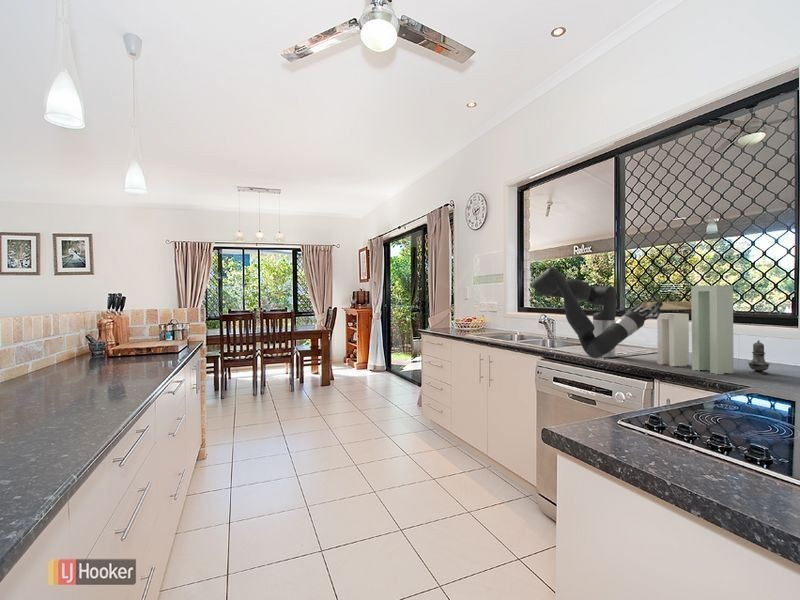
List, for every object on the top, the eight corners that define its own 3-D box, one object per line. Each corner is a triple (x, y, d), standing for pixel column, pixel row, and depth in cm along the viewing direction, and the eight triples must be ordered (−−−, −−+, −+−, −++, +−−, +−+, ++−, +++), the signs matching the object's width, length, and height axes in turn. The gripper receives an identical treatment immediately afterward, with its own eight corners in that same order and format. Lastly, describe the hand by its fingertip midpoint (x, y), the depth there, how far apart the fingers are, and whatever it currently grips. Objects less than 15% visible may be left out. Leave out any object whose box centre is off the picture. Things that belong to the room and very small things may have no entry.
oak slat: (642, 309, 153) (642, 302, 153) (693, 308, 161) (693, 301, 161) (650, 310, 150) (650, 302, 150) (702, 308, 157) (702, 301, 157)
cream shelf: (657, 364, 158) (657, 313, 157) (672, 362, 160) (671, 313, 160) (674, 366, 151) (673, 314, 151) (689, 365, 153) (688, 313, 153)
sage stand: (692, 370, 144) (691, 286, 144) (707, 368, 146) (706, 286, 146) (717, 374, 136) (716, 285, 135) (733, 373, 138) (732, 285, 138)
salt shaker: (765, 375, 133) (765, 341, 133) (744, 372, 138) (744, 339, 138) (773, 373, 136) (772, 340, 136) (752, 371, 141) (751, 338, 141)
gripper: (639, 317, 141) (669, 294, 146) (609, 315, 155) (637, 294, 159) (647, 334, 143) (677, 310, 147) (616, 331, 156) (644, 309, 160)
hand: (656, 302), depth 153 cm, fingers closed on oak slat, 3 cm apart
